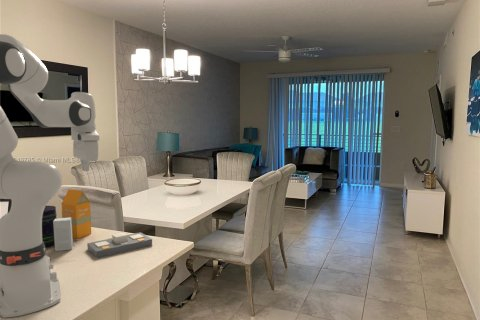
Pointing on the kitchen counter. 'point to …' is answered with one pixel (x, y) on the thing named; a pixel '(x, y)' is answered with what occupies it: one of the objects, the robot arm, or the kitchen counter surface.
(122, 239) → the middle button
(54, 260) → the kitchen counter surface
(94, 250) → the button panel
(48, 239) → the dark blue cylinder
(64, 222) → the skincare box
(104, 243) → the near button
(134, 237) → the far button
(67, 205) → the orange juice
